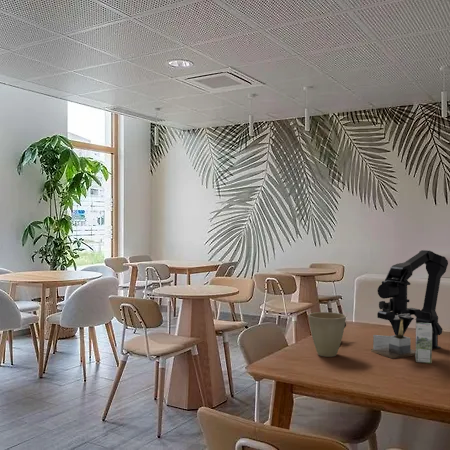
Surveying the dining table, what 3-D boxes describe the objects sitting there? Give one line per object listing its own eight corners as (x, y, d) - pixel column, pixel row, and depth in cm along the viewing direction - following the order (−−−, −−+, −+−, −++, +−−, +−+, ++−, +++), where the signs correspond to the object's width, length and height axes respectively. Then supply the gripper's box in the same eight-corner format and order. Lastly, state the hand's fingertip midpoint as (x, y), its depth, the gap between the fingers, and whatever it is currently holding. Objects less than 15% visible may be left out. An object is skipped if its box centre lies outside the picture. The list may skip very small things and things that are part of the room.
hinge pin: (404, 339, 205) (405, 319, 205) (399, 340, 204) (399, 320, 204) (399, 337, 208) (399, 318, 208) (393, 338, 206) (394, 318, 206)
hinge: (398, 347, 216) (398, 331, 216) (420, 354, 205) (420, 337, 205) (371, 351, 210) (371, 334, 210) (392, 358, 199) (392, 340, 199)
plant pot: (352, 354, 205) (352, 315, 205) (333, 361, 194) (333, 320, 194) (320, 347, 215) (321, 310, 215) (300, 354, 205) (301, 315, 204)
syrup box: (431, 359, 197) (431, 322, 197) (431, 364, 192) (432, 325, 192) (415, 358, 199) (415, 321, 199) (415, 362, 194) (416, 324, 194)
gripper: (402, 292, 217) (402, 328, 217) (368, 295, 209) (367, 333, 209) (422, 296, 207) (422, 334, 207) (387, 299, 199) (387, 338, 199)
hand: (399, 334), depth 206 cm, fingers closed on hinge pin, 3 cm apart
